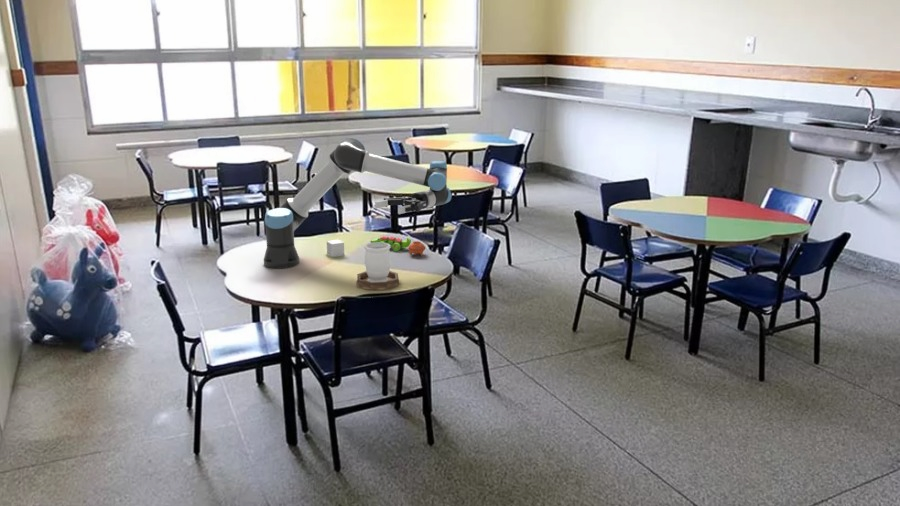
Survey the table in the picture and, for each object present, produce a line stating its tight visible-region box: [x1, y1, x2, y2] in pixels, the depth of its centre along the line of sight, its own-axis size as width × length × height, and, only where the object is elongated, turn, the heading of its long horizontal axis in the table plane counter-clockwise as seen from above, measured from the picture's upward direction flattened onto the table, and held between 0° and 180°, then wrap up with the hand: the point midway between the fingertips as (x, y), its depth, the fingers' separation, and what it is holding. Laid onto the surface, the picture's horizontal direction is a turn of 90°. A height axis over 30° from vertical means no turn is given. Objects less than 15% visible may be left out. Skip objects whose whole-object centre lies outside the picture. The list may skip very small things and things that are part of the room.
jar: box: [364, 242, 392, 282], centre depth 276 cm, size 11×10×15 cm
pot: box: [407, 240, 426, 257], centre depth 315 cm, size 8×8×7 cm
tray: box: [355, 270, 400, 291], centre depth 278 cm, size 17×17×3 cm
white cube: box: [326, 239, 345, 257], centre depth 314 cm, size 6×6×6 cm
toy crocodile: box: [370, 235, 412, 252], centre depth 325 cm, size 20×7×6 cm, turn 70°
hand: (386, 208), depth 283 cm, fingers open, 13 cm apart
